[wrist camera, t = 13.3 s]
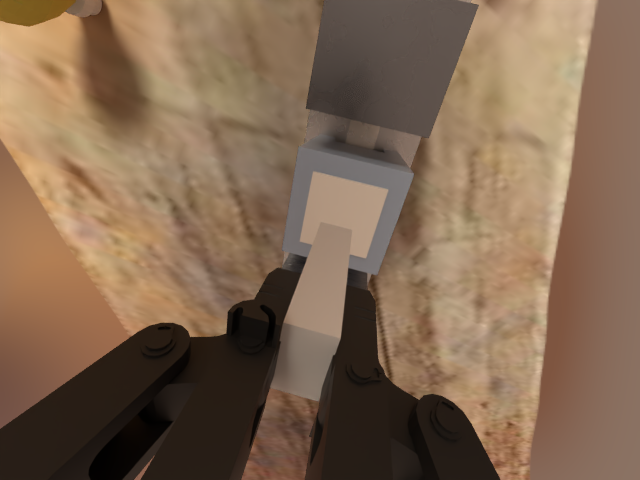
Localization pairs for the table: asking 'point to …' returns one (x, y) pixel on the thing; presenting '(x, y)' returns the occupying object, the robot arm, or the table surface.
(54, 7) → the light bulb
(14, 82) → the table surface
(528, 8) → the table surface
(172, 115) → the table surface
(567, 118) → the table surface
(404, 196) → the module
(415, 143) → the grey block holder
